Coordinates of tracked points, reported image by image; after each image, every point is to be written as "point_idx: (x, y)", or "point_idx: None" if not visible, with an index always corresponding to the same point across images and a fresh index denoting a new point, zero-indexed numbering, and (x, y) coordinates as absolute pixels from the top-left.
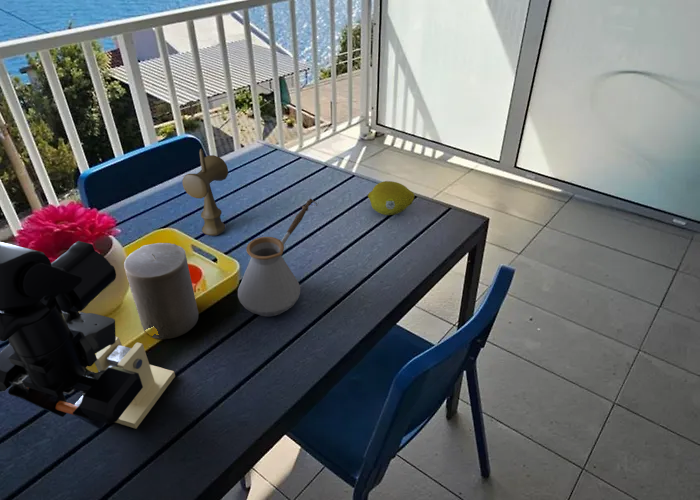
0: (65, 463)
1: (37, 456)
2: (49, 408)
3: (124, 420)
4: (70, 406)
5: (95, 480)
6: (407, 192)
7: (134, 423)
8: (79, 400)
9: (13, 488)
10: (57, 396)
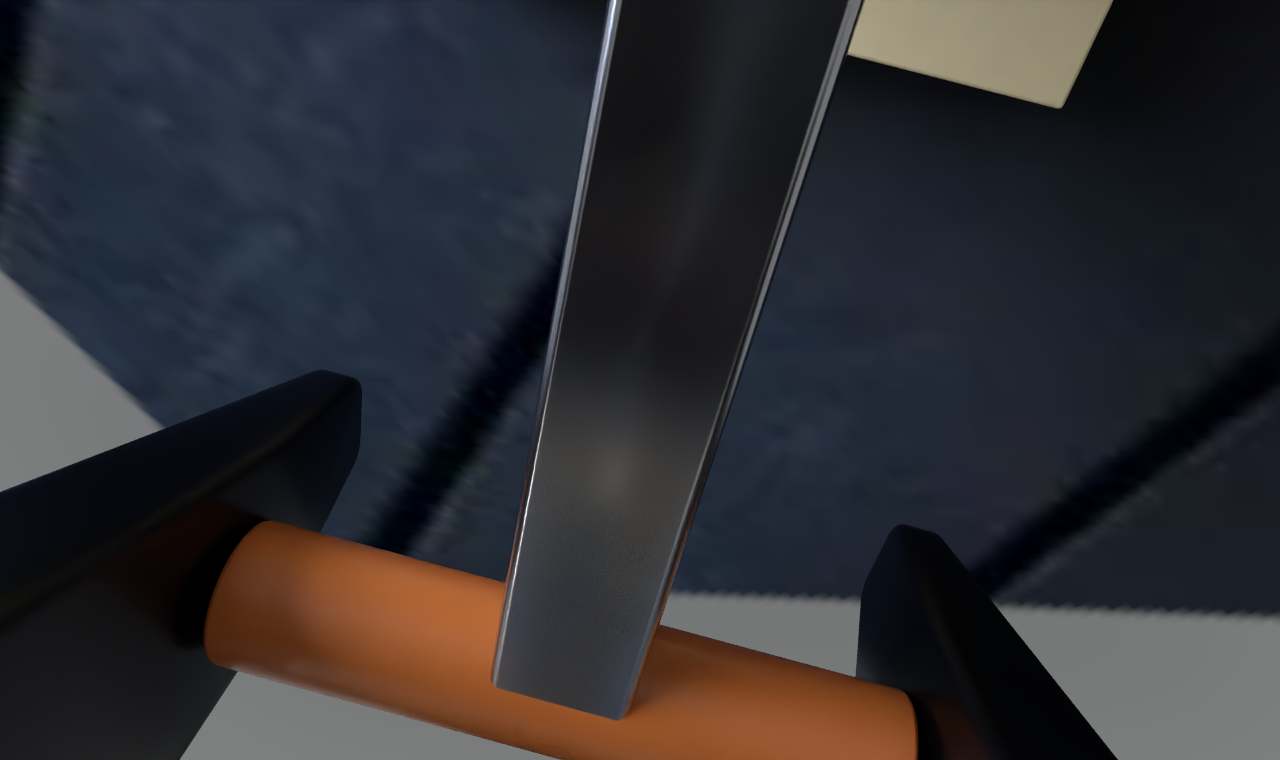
0: None
1: (307, 369)
2: (180, 737)
3: (929, 71)
4: (457, 721)
5: (819, 526)
6: None
7: (1060, 101)
8: (527, 618)
9: None
10: (120, 649)
